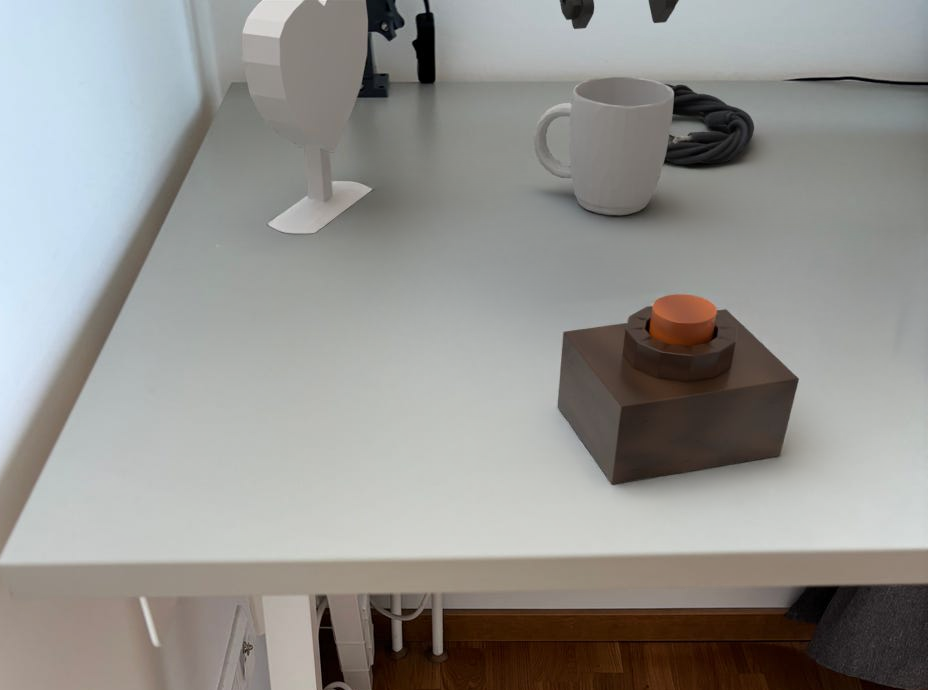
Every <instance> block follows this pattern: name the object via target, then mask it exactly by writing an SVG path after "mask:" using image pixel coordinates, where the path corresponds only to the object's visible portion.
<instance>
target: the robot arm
mask: <svg viewBox="0 0 928 690" xmlns="http://www.w3.org/2000/svg"><path fill="white" fill-rule="evenodd" d="M679 1H680V0H648V7H649V10H650V15H651V20H652V22H653V23H654V24H661V23H663V24H664V23H667V21H668V19H669V18H670V16H672V13H673V12H674V10H675V8H676V6H677V4H678V3H679ZM559 3H560V8H561V13H562V16H564V18H565V20H566V21H570V20H571V25H572V28H573V29H574V30H581V29H582V30H583V29H586V28H587V27H588V25H589V23H590V21H591V19H593V18H592V17H593V15H594V13H595V1H594V0H559Z"/></svg>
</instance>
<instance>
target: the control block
mask: <svg viewBox="0 0 928 690" xmlns="http://www.w3.org/2000/svg"><path fill="white" fill-rule="evenodd" d="M652 306H653V305H649V306H645V307H643V308H641V309H639V310H637V311H636V312H634V313H632V314H631V315H629V316H628V319H627V322H623V323H617V324H610V325H609V324H608V325H601V326H595V327H588V328H587V327H586V328H580V329H573V330H566V331H563V333H562V345H561V358H560V369H559V380H558V381H559V383H558V396H557V408H558V409H559V411H560V412H561V414H562V415H563V416H564V418H565V419H566V421H567V422H568V424H569V425H570V426H571V428H572V429H573V431H574V432H575V434H576V435H577V436H578V438H579V439H580V441H581V442H582V443H583V445H584V446H585V448H586V449H587V451H588V452H589V454H590V455H591V456H592V458H593V459H594V461H595V462H596V463H597V465H598V467H599V468H600V469H601V471H602V472H603V474H604V475H605V477H606V478H607V479H608V481H609V482H610V484H611V485H617V484H622V483H623V484H624V483H627V482H635V481H639V480H645V479H651V478H657V477H663V476H669V475H674V474H682V473H687V472H692V471H697V470H698V471H699V470H704V469H710V468H715V467H723V466H727V465H735V464H740V463H744V462H745V463H746V462H752V461H757V460H763V459H768V458H774V457H779V456H781V453H782V450H783V447H784V442H785V439H786V434H787V429H788V427H789V426H788V425H789V423H790V422H789V421H790V418H791V414H792V409H793V405H794V401H795V397H796V393H797V388H798V384H799V381H800V378H799V377H798V376H797V375H796V374H794V372H793V371H792V370H791V369H789V368H788V367H787V366H786V365H785V364H784V362H783V361H781V360H780V359H779V358H778V357H777V356H776V355H775V354H774V353H773V352H772V351H771V350H770V349H768V348H767V347H766V345H765V344H763V343H762V341H760V340H759V339H758V337H756V336H755V335H754V334H753V333H752V332H751V331H750V330H749V329H748V328H747V327H746V326H744V324H742V323H741V322H740V320H738V319H737V318H736V317H735V316H734V315H733V314H732V313H731V312H730V311H729V310H727V308H724V309H717V315H716V321H715V327H714V332H713V337H712V340H711V341H710V342H708V343H707V344H700V345H693V346H682V345H673V344H667V343H665V342H662V341H660V340H657V339H655V338H652V337H651V335H650V333H649V328H650V321H651V314H652Z"/></svg>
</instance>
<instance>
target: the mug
mask: <svg viewBox="0 0 928 690" xmlns="http://www.w3.org/2000/svg"><path fill="white" fill-rule="evenodd" d="M665 84H666V83H663V82H661V81H658V80H654V79H650V78H645V77H639V76H631V75H630V76H629V75H606V76H599V77H593V78H590V79H585V80H583V81H581V82H579V83H578V84H576V86H574V89H573V91H572V98H571V102H562V103H559V104H555V105H553V106H552V107H550V108H549V109H547V110H546V111H545V112H543V114H542V115H541V116H540V118H539V119H538V121H537V123H536V126H535V130H534V134H533V135H534V136H533V146H534V151H535V155H536V157H537V159H538V162H539V163H540V164H541V166H542V167H543V168H544V169H545V170H546V171H548V172H549V173H550V174H551V175H553V176H555V177H558V178H562V179H571V182H572V189H573V193H574V196H575V197H576V200H577V203H578V204H579V206H581V207H582V208H584V210H587V211H590V212H593V213H595V214H599V215H600V214H601V215H606V216H627V215H628V216H629V215H631V214H635V213H638V212H640V211H641V210H643V209H644V208H645V207H646V206H648V204H649V202H650V199H651V198H652V197H653V196H654V193H655V190H656V188H657V185H658V183H659V180H660V178H661V174H662V170H663V166H664V162H665V160H666V159H665V156H666V151H667V145H668V140H669V134H670V133H671V128H672V121H673V102H674V91H673V90H672V88H671V87H669V86H667V85H665ZM560 117H569V138H568V139H569V142H568V146H569V162H570V164H569V165H567V164H564V163H562V162H560V161H559V160H557V159H556V158H555V156H554V155H553V154H552V153H551V152H550V149H549V147H548V143H547V132H548V129H549V126H550V125H551V123H552V122H553V121H554V120H555V119H558V118H560ZM670 135H671V134H670Z"/></svg>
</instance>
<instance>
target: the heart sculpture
mask: <svg viewBox="0 0 928 690" xmlns="http://www.w3.org/2000/svg"><path fill="white" fill-rule="evenodd" d="M368 31H369V18H368V9H367V0H261V1H259V3H258V4H257V5H256V6H255V7H254V8H253V9H252V11H251V12H250V14H248V17H246V20H245V23H244V26H243V29H242V32H241V43H242V44H241V45H242V47H241V48H242V64H243V69H244V75H245V78H246V82H247V83H246V84H247V87H248V92H249V95H250V97H251V100H252V101H253V104H254V105H255V108H256V109H257V111H258V113H259V116H260V117H261V119H262V120H263V122H264V123H266V124H267V125H268V126H269V127H270V128H271V129H272V130H273V131H274V132H275V133H276V134H278V135H280V136H282V137H283V138H285V139H287V140H289V141H291V142H292V143H293V144H295V145H296V146H297V147H299V148H301V149H303V150H304V162H305V171H306V172H305V175H306V186H307V195H306V196H304V197H303V198H301V199H300V200H298V201H297V202H296V203H295V204H293V205H292V206H290V207H289V208H287V209H285V210H284V211H282V213H280V214H279V215H278V216H276V217H275V218H273V219H272V220H270V221H269V222H268V223H266V225H268V226H269V227H271V228H272V229H273V230H276V231H279V232H282V233H284V234H303V235H304V234H316V233H317V232H319V231H320V230H321V229H322V228H324V227H325V226H326V225H327V224H329V223H330V222H332V221H333V220H334V219H336V218H337V217H338V216H339V215H341V214H342V213H343V212H345V211H347V209H349V208H350V207H352V206H353V205H354V204H355V203H357V202H358V201H360V199H362V198H363V197H365V196H366V195H367V194H368V193H370V192H371V191H373V188H370V187H369V186H367V185H365V184H362V183H360V182H356V181H348V180H332V179H333V178H332V166H331V154H334V153H335V151H336V149H337V146H338V144H339V141H340V139H341V137H342V134H343V133H344V130H345V128H346V126H347V123H348V122H349V120H350V117H351V115H352V113H353V109H354V107H355V104H356V101H357V99H358V96H359V93H360V90H361V88H362V83H363V77H364V73H365V72H364V71H365V67H366V62H367V56H368V37H369V36H368V35H369V32H368Z"/></svg>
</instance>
